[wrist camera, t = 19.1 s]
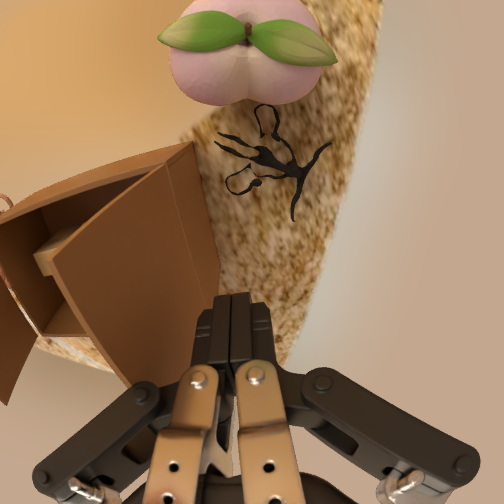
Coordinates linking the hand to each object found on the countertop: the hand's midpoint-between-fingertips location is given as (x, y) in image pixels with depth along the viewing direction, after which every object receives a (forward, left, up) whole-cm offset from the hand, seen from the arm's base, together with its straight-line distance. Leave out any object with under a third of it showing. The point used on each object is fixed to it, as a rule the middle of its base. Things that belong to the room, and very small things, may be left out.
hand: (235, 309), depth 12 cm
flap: (-3, 0, 0) cm, 3 cm away
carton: (-12, 0, -13) cm, 17 cm away
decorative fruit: (+2, +12, -13) cm, 18 cm away
